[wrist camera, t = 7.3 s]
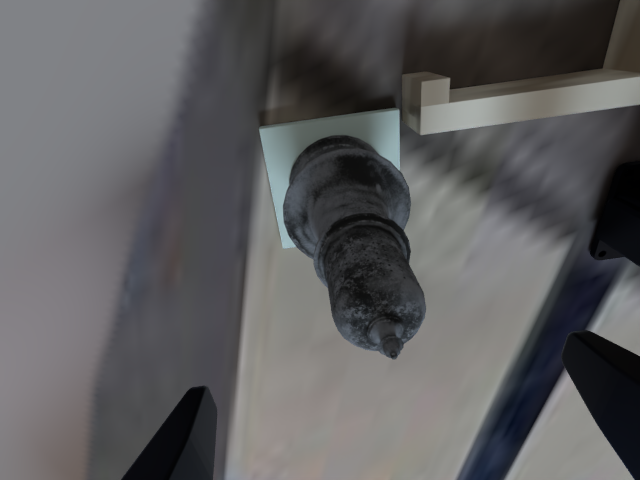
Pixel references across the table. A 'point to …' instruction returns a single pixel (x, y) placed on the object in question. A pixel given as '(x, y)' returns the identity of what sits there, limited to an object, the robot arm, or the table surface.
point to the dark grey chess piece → (357, 240)
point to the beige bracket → (530, 89)
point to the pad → (294, 138)
